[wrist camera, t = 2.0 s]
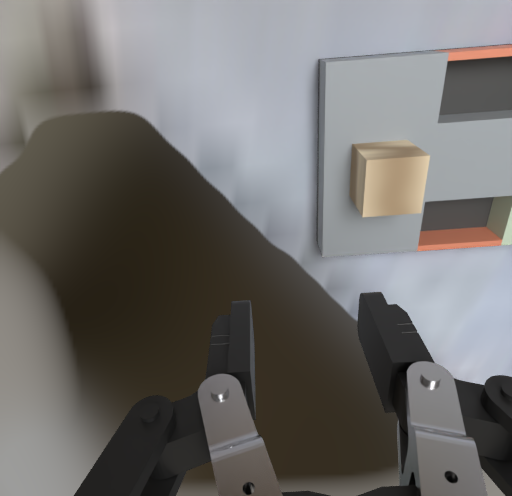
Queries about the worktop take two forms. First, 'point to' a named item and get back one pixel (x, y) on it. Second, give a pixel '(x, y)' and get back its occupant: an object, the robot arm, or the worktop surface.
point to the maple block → (388, 178)
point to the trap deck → (427, 139)
